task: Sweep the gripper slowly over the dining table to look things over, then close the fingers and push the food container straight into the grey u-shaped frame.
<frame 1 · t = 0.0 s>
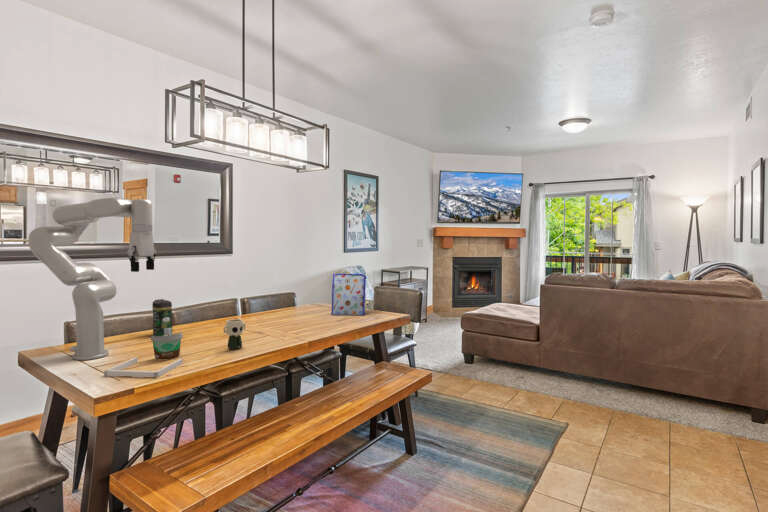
hand: (142, 270, 175), 37 cm above the table, tool pointing down, fingers open, 9 cm apart
grey u-shaped frame: (146, 369, 162), on the table
coffee jar: (162, 335, 215), on the table
food container: (169, 358, 177), on the table
cream and green figurine: (234, 348, 192), on the table
lunch bag: (348, 313, 280), on the table
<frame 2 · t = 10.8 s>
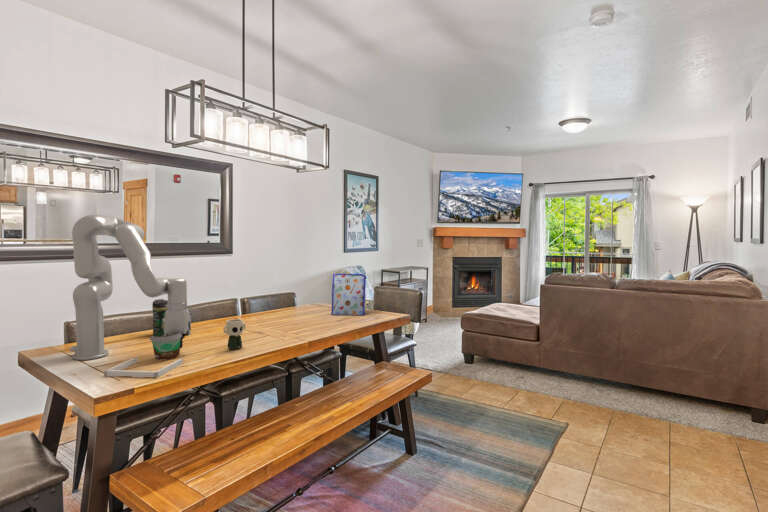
hand: (178, 348, 183), 2 cm above the table, tool pointing down, fingers closed
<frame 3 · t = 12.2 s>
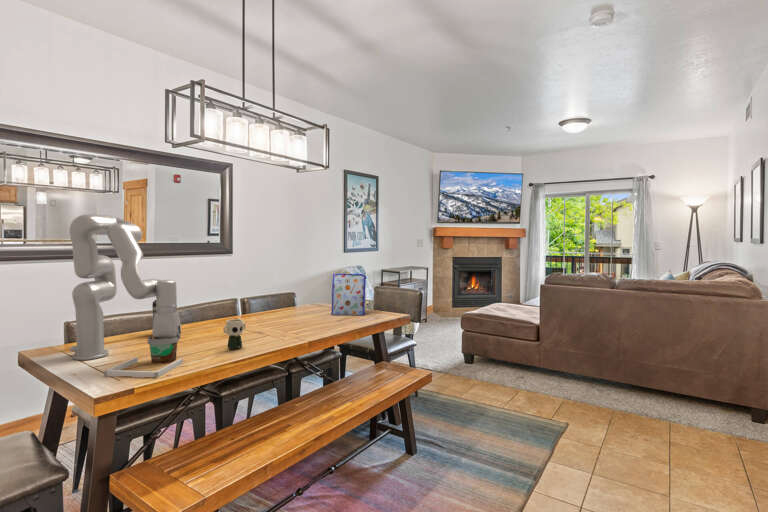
hand: (167, 353, 175), 2 cm above the table, tool pointing down, fingers closed
food container: (160, 362, 171), on the table
everything else where it was.
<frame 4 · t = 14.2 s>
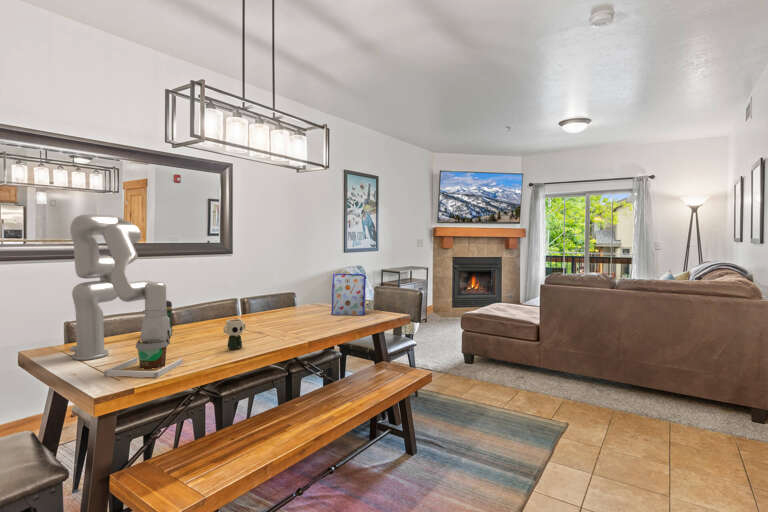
hand: (156, 358, 168), 2 cm above the table, tool pointing down, fingers closed
food container: (148, 368, 164), on the table, touching gripper
everything else where it was.
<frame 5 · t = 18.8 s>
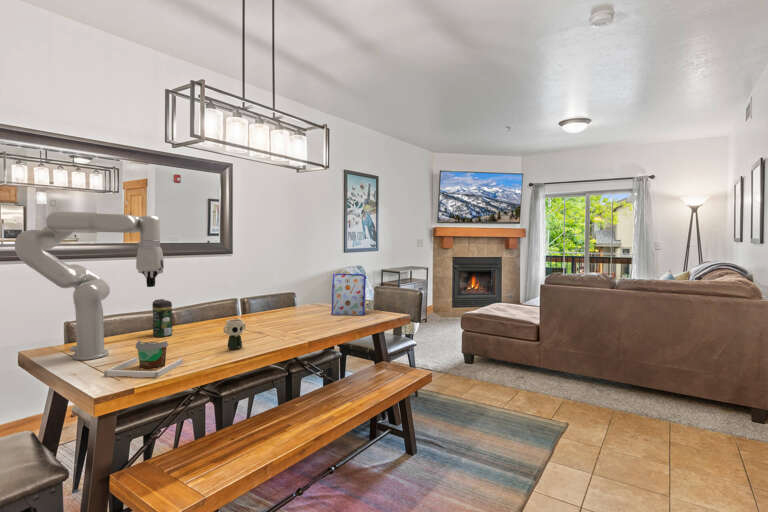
hand: (151, 286, 183), 29 cm above the table, tool pointing down, fingers closed
food container: (148, 368, 164), on the table
everything else where it was.
at the end: food container inside the target area on the grey u-shaped frame (2.4 cm from its centre), point 0.0 cm above the grey u-shaped frame's base; food container tilted 0° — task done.
